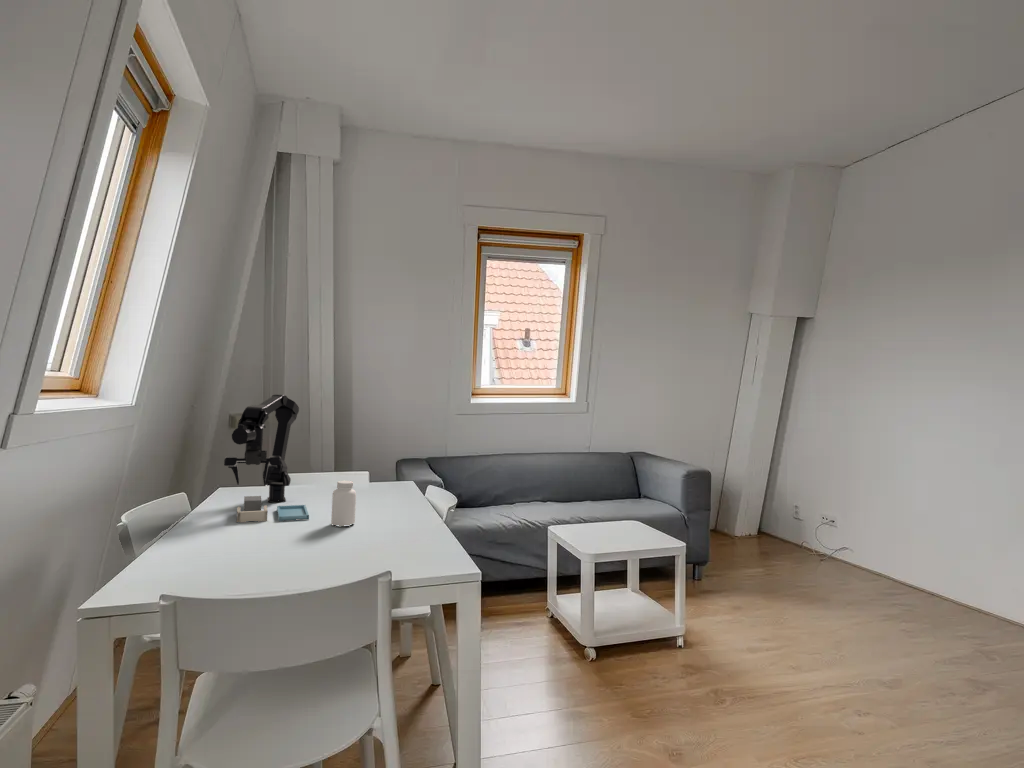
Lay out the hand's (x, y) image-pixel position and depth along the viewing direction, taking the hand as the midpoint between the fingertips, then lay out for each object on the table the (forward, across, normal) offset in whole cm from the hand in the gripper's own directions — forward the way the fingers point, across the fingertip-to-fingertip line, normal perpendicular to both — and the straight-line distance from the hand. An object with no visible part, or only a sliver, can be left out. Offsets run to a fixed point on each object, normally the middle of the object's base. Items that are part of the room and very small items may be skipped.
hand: (252, 484), depth 215 cm
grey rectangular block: (+10, 0, +1) cm, 10 cm away
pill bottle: (+11, +30, -22) cm, 39 cm away
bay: (+10, 0, -9) cm, 14 cm away
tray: (+10, +14, -6) cm, 18 cm away
